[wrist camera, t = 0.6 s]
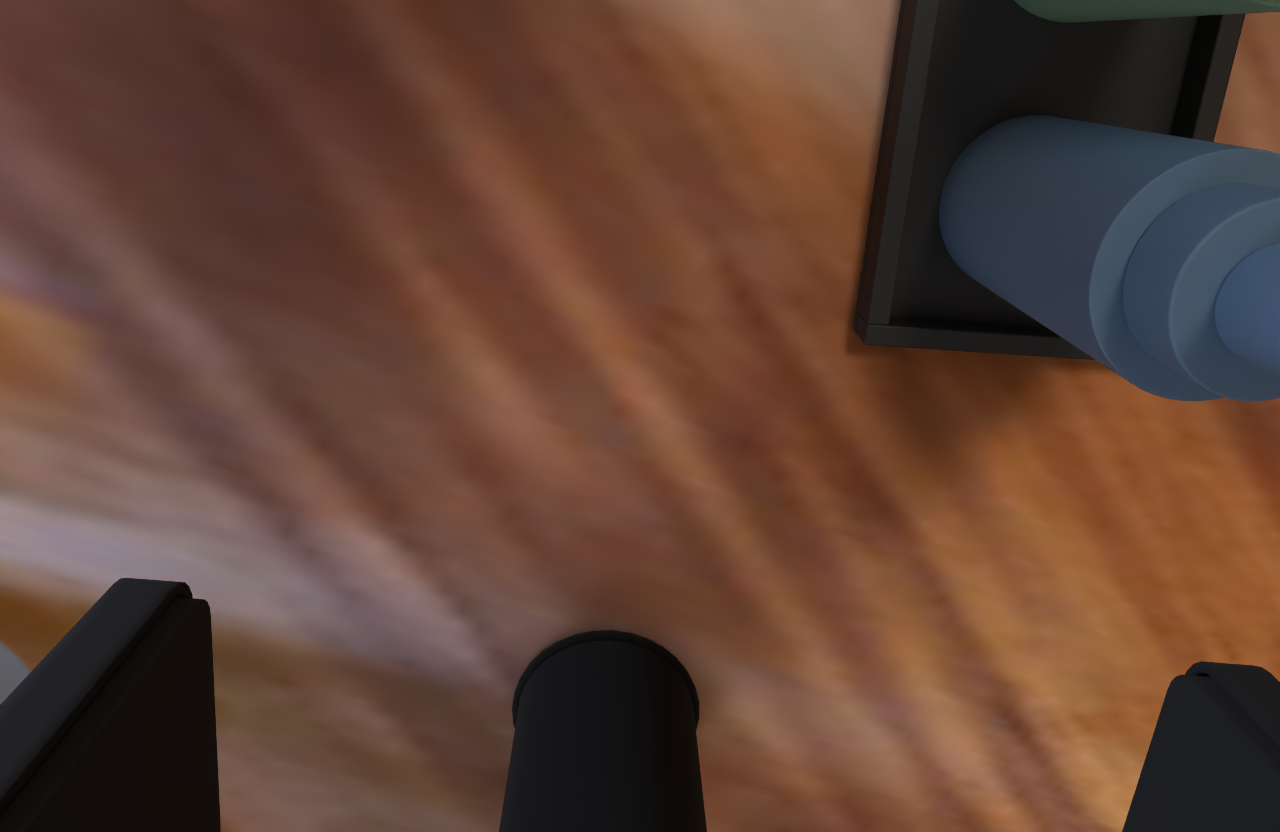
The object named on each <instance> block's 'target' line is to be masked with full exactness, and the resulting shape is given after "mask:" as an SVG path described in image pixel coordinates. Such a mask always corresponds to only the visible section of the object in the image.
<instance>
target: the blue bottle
mask: <svg viewBox="0 0 1280 832" xmlns="http://www.w3.org/2000/svg"><path fill="white" fill-rule="evenodd" d="M939 223H940V229H941V234H942V238H943V241H944V244H945V246H946V248H947V250H948V253H949V254H950V256H951V257H952V259H953V260H954V262H955V263H956V264H957V265H958V266H959V268H960V269H961V270H962V271H963V272H965V273H966V274H967V275H968V276H969V277H971V278H972V279H974V280H975V281H977V282H978V283H980V284H981V285H983V286H984V287H986V288H987V289H989V290H990V291H992V292H994V293H995V294H997V295H998V296H1000V297H1001V298H1003V299H1004V300H1006V301H1007V302H1009V303H1010V304H1012V305H1013V306H1015V307H1016V308H1018V309H1019V310H1021V311H1022V312H1024V313H1025V314H1027V315H1028V316H1030V317H1031V318H1033V319H1035V320H1036V321H1038V322H1039V323H1041V324H1042V325H1044V326H1045V327H1047V328H1048V329H1050V330H1051V331H1053V332H1054V333H1056V334H1057V335H1059V336H1060V337H1062V338H1063V339H1065V340H1066V341H1068V342H1069V343H1071V344H1072V345H1074V346H1075V347H1077V348H1079V349H1080V350H1082V351H1083V352H1085V353H1086V354H1088V355H1089V356H1091V357H1092V358H1094V359H1095V360H1097V361H1098V362H1100V363H1101V364H1103V365H1104V366H1106V367H1107V368H1109V369H1110V370H1112V371H1113V372H1115V373H1116V374H1118V375H1120V376H1121V377H1123V378H1124V379H1126V380H1127V381H1129V382H1130V383H1132V384H1133V385H1135V386H1137V387H1138V388H1140V389H1142V390H1144V391H1147V392H1149V393H1151V394H1154V395H1157V396H1160V397H1164V398H1168V399H1174V400H1181V401H1204V400H1213V399H1219V398H1223V397H1224V398H1228V399H1232V400H1239V401H1264V400H1272V399H1276V398H1280V155H1279V154H1276V153H1273V152H1270V151H1265V150H1259V149H1252V148H1246V147H1240V146H1234V145H1228V144H1221V143H1215V142H1209V141H1203V140H1197V139H1190V138H1184V137H1178V136H1172V135H1165V134H1159V133H1153V132H1147V131H1141V130H1134V129H1128V128H1122V127H1116V126H1110V125H1103V124H1097V123H1091V122H1085V121H1078V120H1072V119H1066V118H1060V117H1053V116H1047V115H1028V116H1021V117H1017V118H1013V119H1009V120H1007V121H1004V122H1002V123H999V124H997V125H995V126H993V127H992V128H990V129H988V130H986V131H985V132H984V133H982V134H981V135H979V136H978V137H977V138H976V139H974V140H973V141H972V142H971V143H970V144H969V145H968V146H967V147H966V148H965V149H964V151H963V152H962V153H961V154H960V155H959V157H958V158H957V160H956V161H955V163H954V164H953V166H952V168H951V170H950V172H949V174H948V176H947V178H946V181H945V184H944V186H943V190H942V194H941V198H940V207H939Z"/></svg>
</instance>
